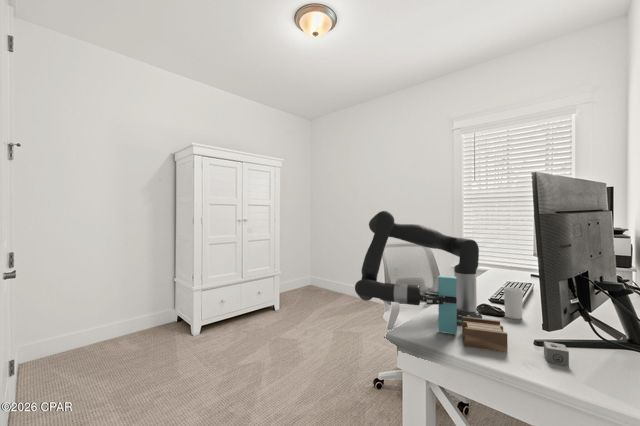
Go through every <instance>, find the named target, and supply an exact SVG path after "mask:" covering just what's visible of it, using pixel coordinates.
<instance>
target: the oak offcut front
mask: <svg viewBox="0 0 640 426" xmlns="http://www.w3.org/2000/svg"><path fill="white" fill-rule="evenodd" d="M467 328H475V329H483V330H490V331H498V332H504V330H503V331H502V329H494V328H486V327H478V326H470V325H467Z"/></svg>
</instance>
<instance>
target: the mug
mask: <svg viewBox="0 0 640 426" xmlns="http://www.w3.org/2000/svg"><path fill="white" fill-rule="evenodd" d="M523 293H524V291H523V289H521V288H519V287H518V288H517V287H511V286H508V287H507V286H506V287H503V296H504V297H503V298H504V315H505V317H506V318H509V319H512V320H521V319H522V320H523V298H524V297H523V296H524V294H523Z"/></svg>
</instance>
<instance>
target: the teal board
mask: <svg viewBox="0 0 640 426" xmlns="http://www.w3.org/2000/svg"><path fill="white" fill-rule="evenodd" d="M437 278H438V284H437V285H438V289H437V290H438V295H442V296H443V295H444V296H450V297H456V298H457V278H456V277H454V276H453V275H452V276H451V275H438V277H437ZM438 300H439V301H440V299H438ZM457 311H458V310H457V303H456V304H455V303H443V304H442V305H441V304H438V332H440V333H445V334H447V333H448V334H452V335H457V333H458V327H457V326H458V325H457Z"/></svg>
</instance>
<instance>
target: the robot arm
mask: <svg viewBox="0 0 640 426" xmlns="http://www.w3.org/2000/svg"><path fill="white" fill-rule="evenodd" d="M368 227H369V230H370V231H371V232H372V233H373V237H372V240H371V241H370V242H371V243H370V245H369V247H368V248H367V250H366V253H365V256H364V259H363V263H362V266H361V279H360V280H358V281H357V282H356V283H355V284H354V291H355V293H356V294H357V296H358V298H360V299H361V300H363V301H365V302H366V301H367V302H368V301H370V300H372V299H373V298H374V299H379V300H381V301H383V302H389V303H390V302H391V303H396V304H401V305H402V304H403V305H409V306H410V305H411V306H420V305H421V302H423V303H424V302H425V303H426V305H428V306H429V305H430V306H431V305H432V306H433V305H436V306H439V304H441V305H442V304H443V303H455V304H456V303H457V311H461V312H471V313H476V312H477V310H476V309H478V308H477V307H478V306H477V305H478V303H477V301H478V299H477V297H478V296H477V294H478V293H477V270H478V268H479V257H480V249H479V244H478V243H477V241H475V240H474V239H471V238H464V237H458V236H452V235H447V234H443V233H441V232H440V231H438V230H436V229H435V228H431V227H429V226H426V225H425V226H424V225H421V224H412V223H410V224H405V223H396V222H395V218H394V216H393V214H392V213H391V212H389V211H387V210H382V211H379V212H378V213H376V214H375V215H374V216H373V217H372V218H371V219H370V220H369V222H368ZM389 238H392V239H397V240H400V241H404V242H407V243H411V244H414V245H417V246H421V247H424V248H429V249H435V250H437V249H438V250H441V251H444V252H447V253H450V254H452V255H454V256H456V257H459V263H458V264H455V265H454V270H453V272H454V276H453V277H456V278H457V298H456V297H450V296H444V295H443V296H442V295H438V289H432V288H427V289H425V290H421V286H420V285H419V284H409V283H391V282H390V283H389V282H381V281H378V274H379V271H380V267H381V263H382V258H383V256H384V252H385V249H386V245H387V242H388V239H389ZM438 299H440V301H439V300H438Z"/></svg>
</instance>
